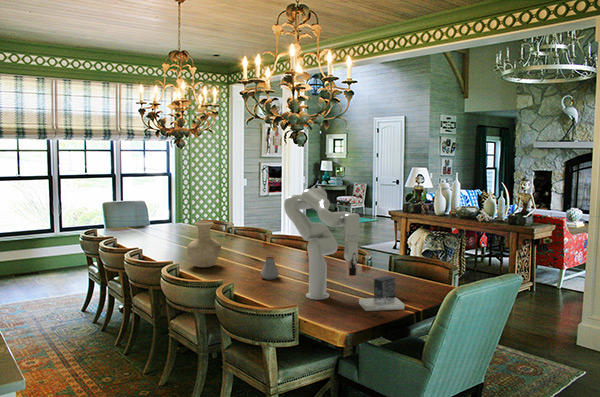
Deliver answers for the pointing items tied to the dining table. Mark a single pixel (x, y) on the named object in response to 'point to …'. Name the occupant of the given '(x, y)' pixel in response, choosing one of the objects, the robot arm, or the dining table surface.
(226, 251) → the dining table surface
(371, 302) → the white rectangular slab
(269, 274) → the coffee pot
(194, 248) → the vase
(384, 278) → the small box
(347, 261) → the square peg
